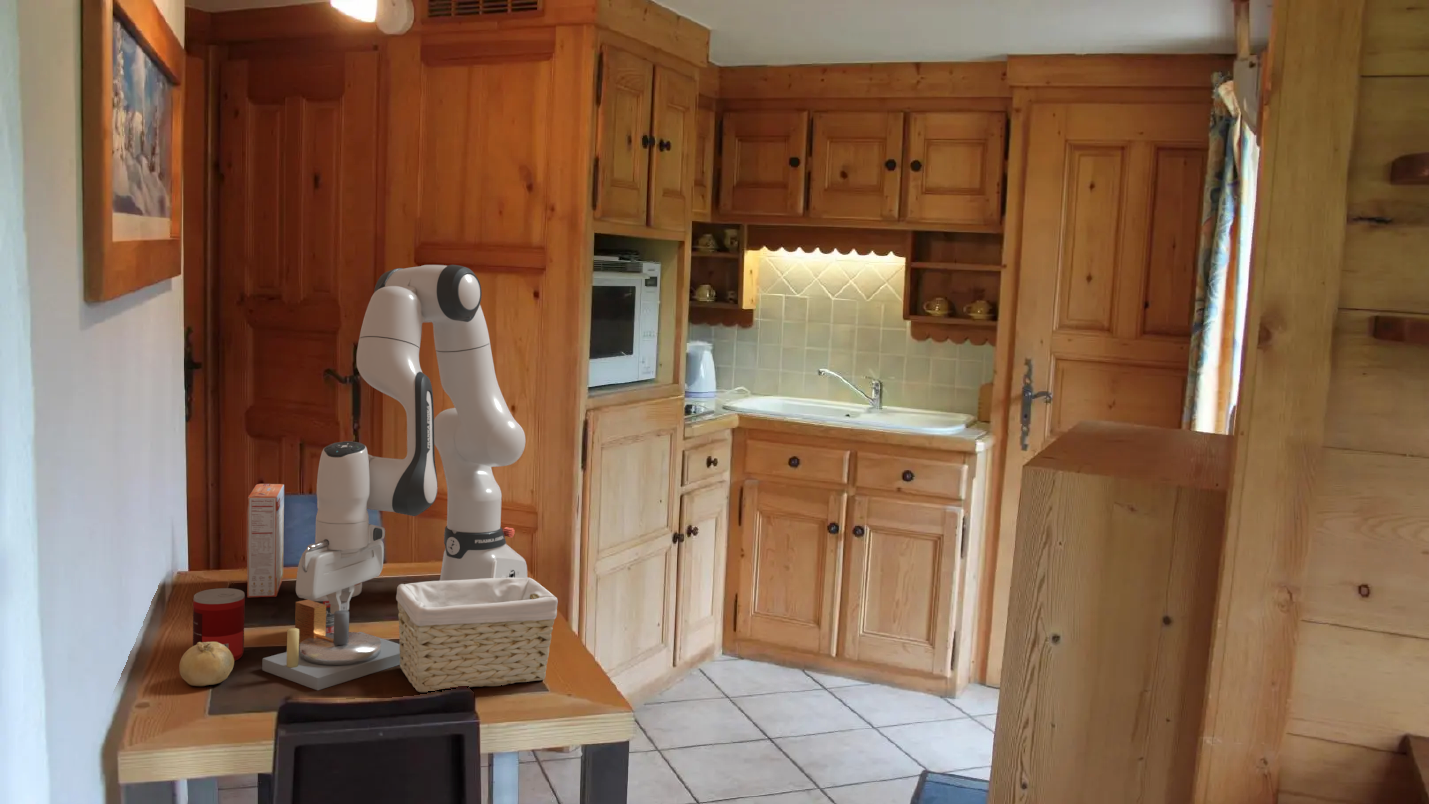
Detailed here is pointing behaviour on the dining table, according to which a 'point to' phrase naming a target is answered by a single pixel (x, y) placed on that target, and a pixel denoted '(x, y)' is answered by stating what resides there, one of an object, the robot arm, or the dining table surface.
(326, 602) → the pill bottle
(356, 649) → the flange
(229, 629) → the canned food
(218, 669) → the onion
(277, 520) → the cracker box
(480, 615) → the storage basket
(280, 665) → the post board
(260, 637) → the dining table surface
